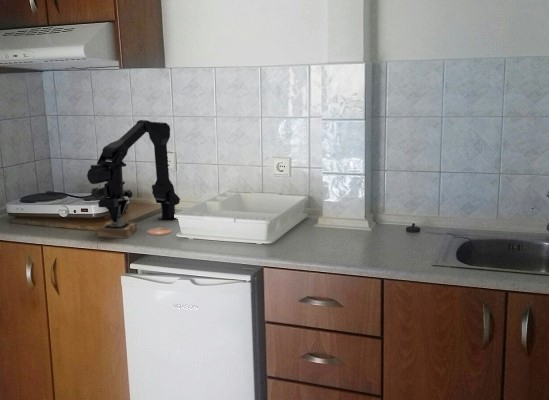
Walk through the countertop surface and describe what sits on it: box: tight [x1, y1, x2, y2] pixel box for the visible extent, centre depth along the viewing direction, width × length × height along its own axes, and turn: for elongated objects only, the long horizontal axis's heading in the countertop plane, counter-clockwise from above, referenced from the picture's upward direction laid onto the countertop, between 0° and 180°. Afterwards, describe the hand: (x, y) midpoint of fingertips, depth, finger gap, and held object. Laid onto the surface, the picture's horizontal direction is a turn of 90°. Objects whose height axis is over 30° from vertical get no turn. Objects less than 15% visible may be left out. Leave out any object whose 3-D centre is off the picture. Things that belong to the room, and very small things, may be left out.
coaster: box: [147, 227, 173, 236], centre depth 233 cm, size 9×9×1 cm
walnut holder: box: [96, 221, 138, 239], centre depth 231 cm, size 11×11×3 cm
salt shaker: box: [109, 211, 125, 229], centre depth 230 cm, size 6×6×12 cm
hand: (117, 220), depth 230 cm, fingers open, 4 cm apart
